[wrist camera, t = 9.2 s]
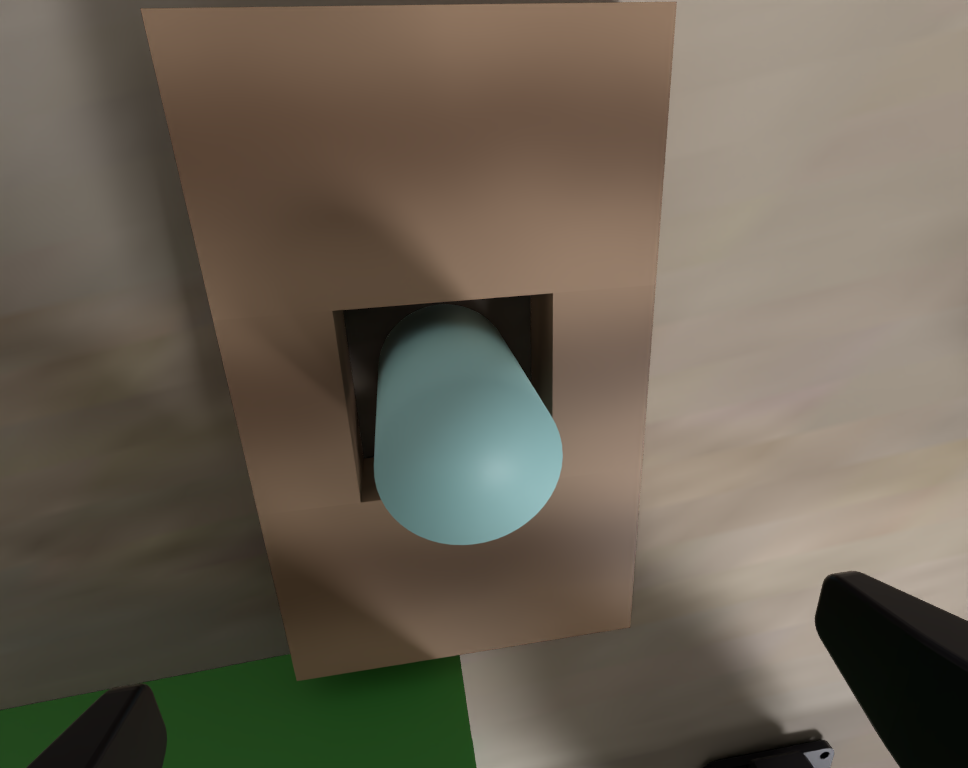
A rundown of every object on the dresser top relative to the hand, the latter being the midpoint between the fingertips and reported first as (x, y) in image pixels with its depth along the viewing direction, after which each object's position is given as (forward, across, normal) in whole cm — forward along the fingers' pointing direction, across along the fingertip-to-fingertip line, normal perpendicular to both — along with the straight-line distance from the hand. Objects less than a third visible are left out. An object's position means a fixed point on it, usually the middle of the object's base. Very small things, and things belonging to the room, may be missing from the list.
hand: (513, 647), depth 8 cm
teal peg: (+11, 0, 0) cm, 11 cm away
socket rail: (+11, 0, 0) cm, 11 cm away
